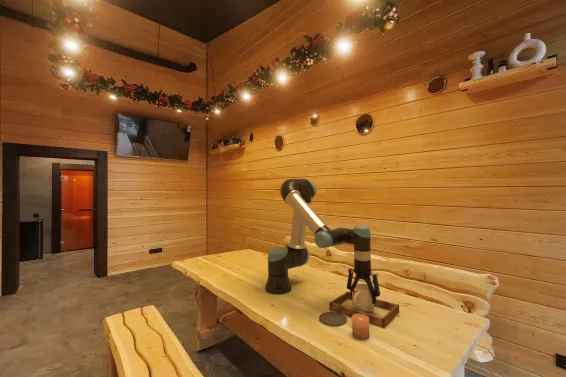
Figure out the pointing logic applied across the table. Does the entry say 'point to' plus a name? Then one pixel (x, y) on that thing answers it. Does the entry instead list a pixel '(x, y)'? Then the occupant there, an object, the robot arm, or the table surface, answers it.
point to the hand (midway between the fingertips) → (363, 307)
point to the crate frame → (373, 319)
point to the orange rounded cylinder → (360, 326)
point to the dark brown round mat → (332, 319)
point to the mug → (362, 297)
